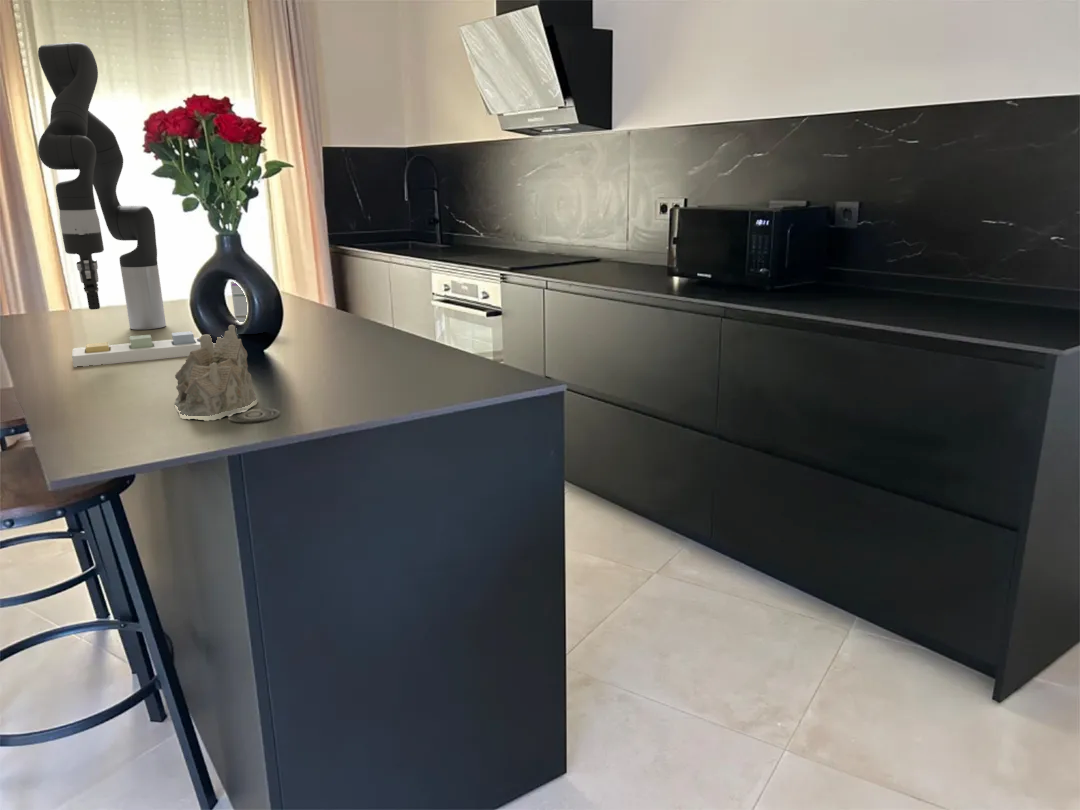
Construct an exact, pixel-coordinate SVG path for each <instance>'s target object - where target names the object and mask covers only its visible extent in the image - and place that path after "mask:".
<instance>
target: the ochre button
mask: <svg viewBox="0 0 1080 810" xmlns="http://www.w3.org/2000/svg"><path fill="white" fill-rule="evenodd" d="M108 345H109V341H105V342H95V343H94V342H93V343H86V344H85V347H86V352H87V353H92V352H103V351H109V346H108Z"/></svg>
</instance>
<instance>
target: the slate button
mask: <svg viewBox="0 0 1080 810" xmlns="http://www.w3.org/2000/svg"><path fill="white" fill-rule="evenodd" d="M194 335H195V334H194V333H193V331H192V330H189V331H177V332H171V338H172V339H173V345H179V344H190V343H194V337H195V336H194ZM172 339H171V340H172Z"/></svg>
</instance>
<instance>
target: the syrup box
mask: <svg viewBox="0 0 1080 810" xmlns="http://www.w3.org/2000/svg"><path fill="white" fill-rule="evenodd" d="M233 281H234V280H233ZM233 281H230V282H229V283H230V289H231V290H230V291H231V296H232V305H233V312H234V313H233V314H234V319H235V318H236V319H237V320H238V321H239V322H244V321H245V319H246V315H247V302H246V297H245V295H244V293H243V291H242V290H241V288H240V287H239V286H238V285H237V284H236V283H234V282H233Z"/></svg>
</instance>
